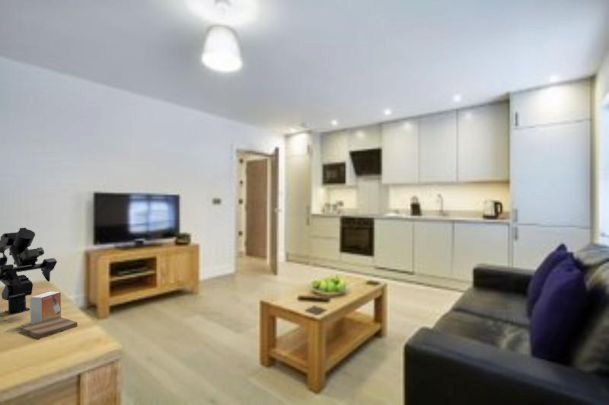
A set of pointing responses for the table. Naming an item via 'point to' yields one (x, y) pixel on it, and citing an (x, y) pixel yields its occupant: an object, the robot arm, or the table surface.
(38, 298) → the small box
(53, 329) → the floor panel
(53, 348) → the table surface
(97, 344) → the table surface
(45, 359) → the table surface
